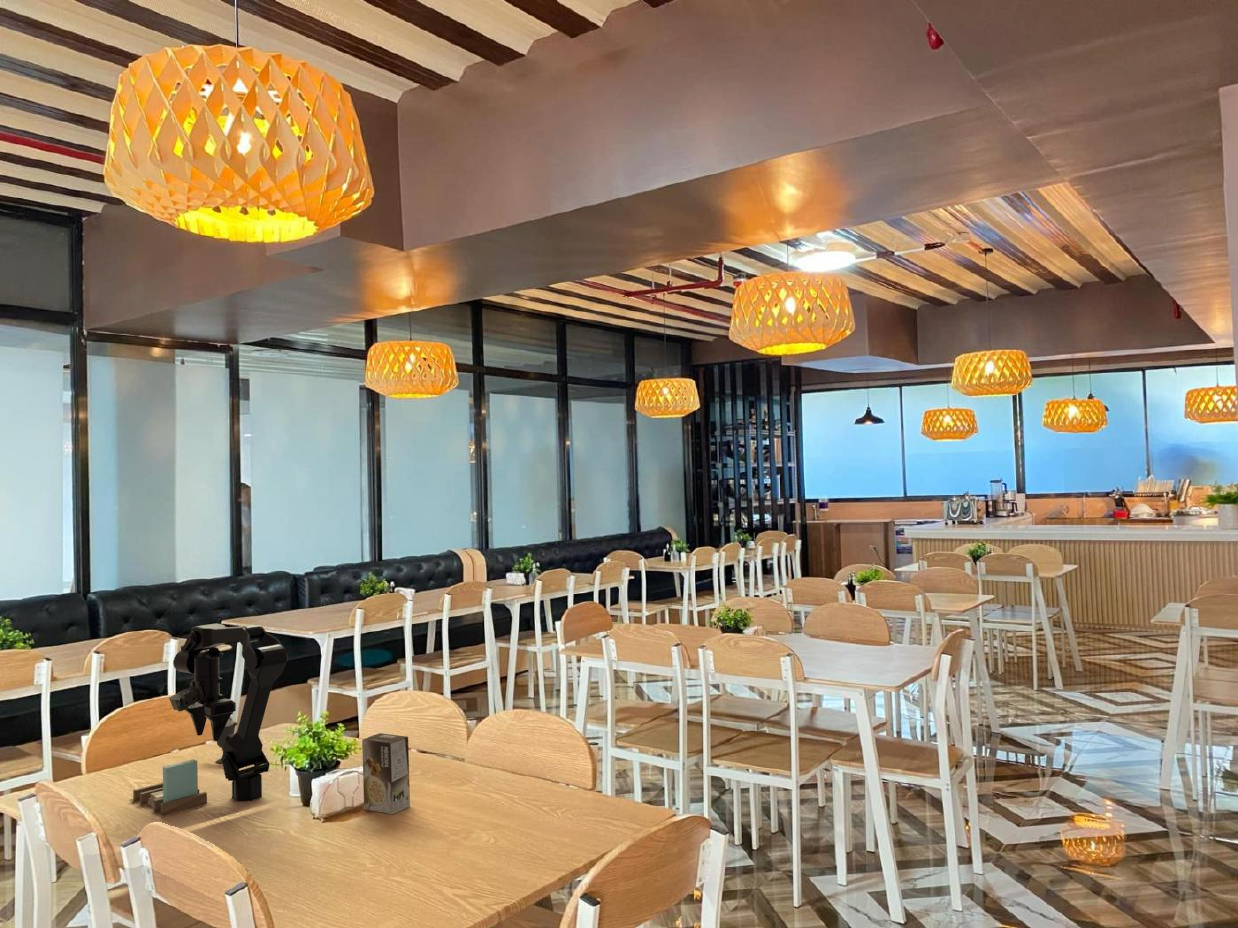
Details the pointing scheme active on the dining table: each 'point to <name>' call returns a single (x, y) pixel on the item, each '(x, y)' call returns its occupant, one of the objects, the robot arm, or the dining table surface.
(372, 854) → the dining table surface
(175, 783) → the teal sheet
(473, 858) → the dining table surface
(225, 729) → the sundae
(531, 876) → the dining table surface
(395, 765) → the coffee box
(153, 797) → the offcut stack
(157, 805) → the walnut rack
